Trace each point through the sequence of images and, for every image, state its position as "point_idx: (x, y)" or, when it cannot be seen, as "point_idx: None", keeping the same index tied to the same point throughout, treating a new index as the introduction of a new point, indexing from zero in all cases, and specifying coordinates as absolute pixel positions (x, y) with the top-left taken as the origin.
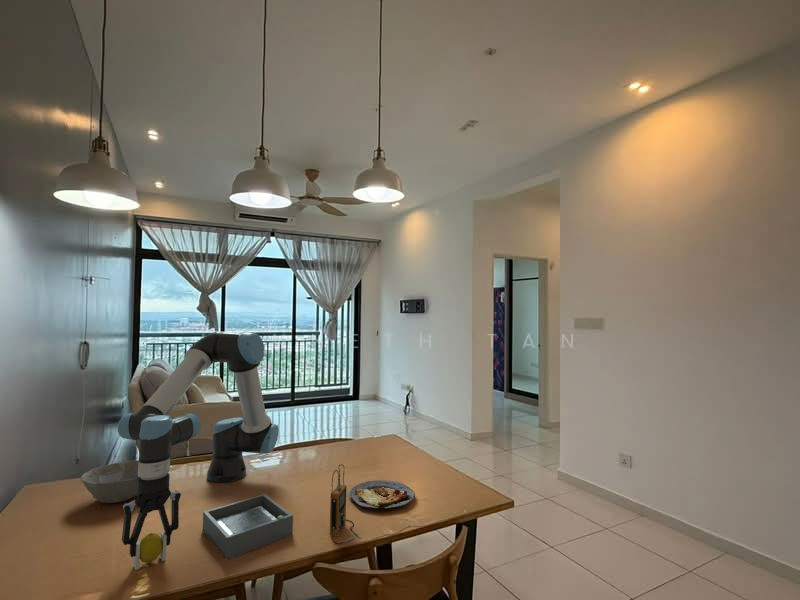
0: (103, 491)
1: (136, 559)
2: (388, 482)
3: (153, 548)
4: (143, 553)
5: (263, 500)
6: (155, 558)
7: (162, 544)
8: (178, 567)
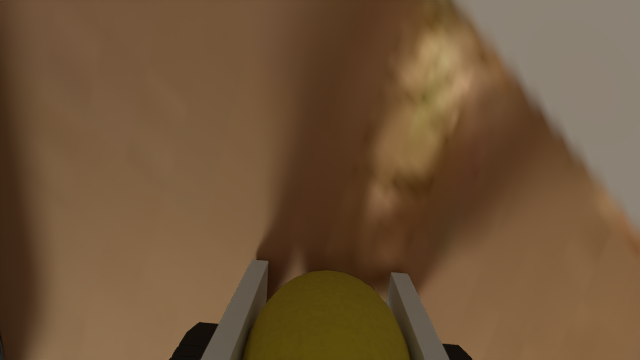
0: None
1: (423, 313)
2: None
3: (327, 313)
4: (392, 321)
5: None
6: (307, 273)
7: (242, 344)
8: (214, 133)
